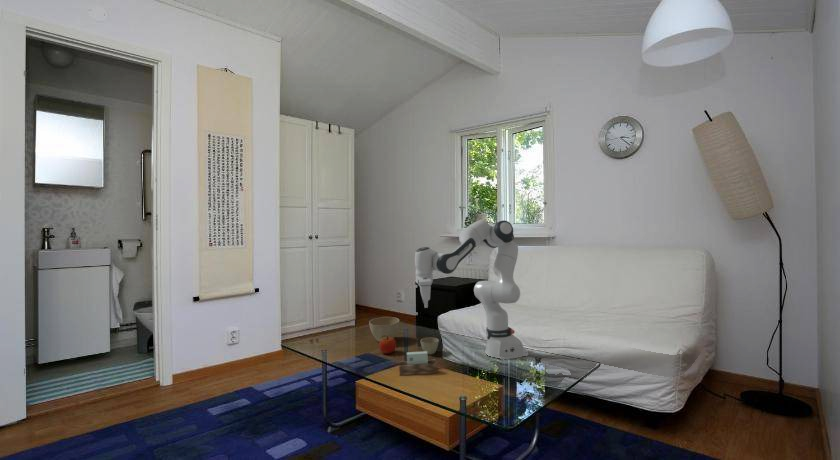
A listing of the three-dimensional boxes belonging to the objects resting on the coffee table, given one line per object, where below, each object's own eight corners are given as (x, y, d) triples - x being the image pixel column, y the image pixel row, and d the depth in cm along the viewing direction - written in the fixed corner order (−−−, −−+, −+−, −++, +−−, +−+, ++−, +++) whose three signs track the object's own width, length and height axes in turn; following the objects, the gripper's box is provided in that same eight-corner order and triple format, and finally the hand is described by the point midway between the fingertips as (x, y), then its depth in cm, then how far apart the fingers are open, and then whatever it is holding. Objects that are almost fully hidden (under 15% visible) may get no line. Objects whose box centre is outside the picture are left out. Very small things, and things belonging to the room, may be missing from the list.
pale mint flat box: (427, 366, 220) (427, 351, 219) (428, 369, 217) (427, 353, 216) (407, 368, 219) (406, 352, 218) (407, 370, 216) (407, 354, 215)
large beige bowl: (366, 339, 271) (365, 319, 270) (393, 334, 279) (392, 315, 278) (376, 347, 255) (374, 327, 254) (404, 342, 262) (403, 322, 261)
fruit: (399, 353, 243) (398, 335, 242) (382, 356, 240) (381, 338, 239) (393, 348, 252) (392, 331, 251) (377, 351, 249) (376, 333, 248)
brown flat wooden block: (435, 366, 222) (434, 358, 222) (436, 372, 214) (436, 364, 214) (399, 368, 221) (399, 360, 221) (399, 375, 213) (399, 367, 213)
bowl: (437, 356, 236) (437, 343, 236) (419, 356, 238) (418, 343, 238) (440, 350, 246) (439, 337, 246) (422, 349, 248) (422, 337, 248)
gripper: (417, 275, 239) (418, 301, 240) (419, 282, 219) (420, 310, 220) (428, 275, 239) (429, 300, 240) (431, 282, 219) (433, 309, 220)
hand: (425, 305), depth 230 cm, fingers open, 8 cm apart
